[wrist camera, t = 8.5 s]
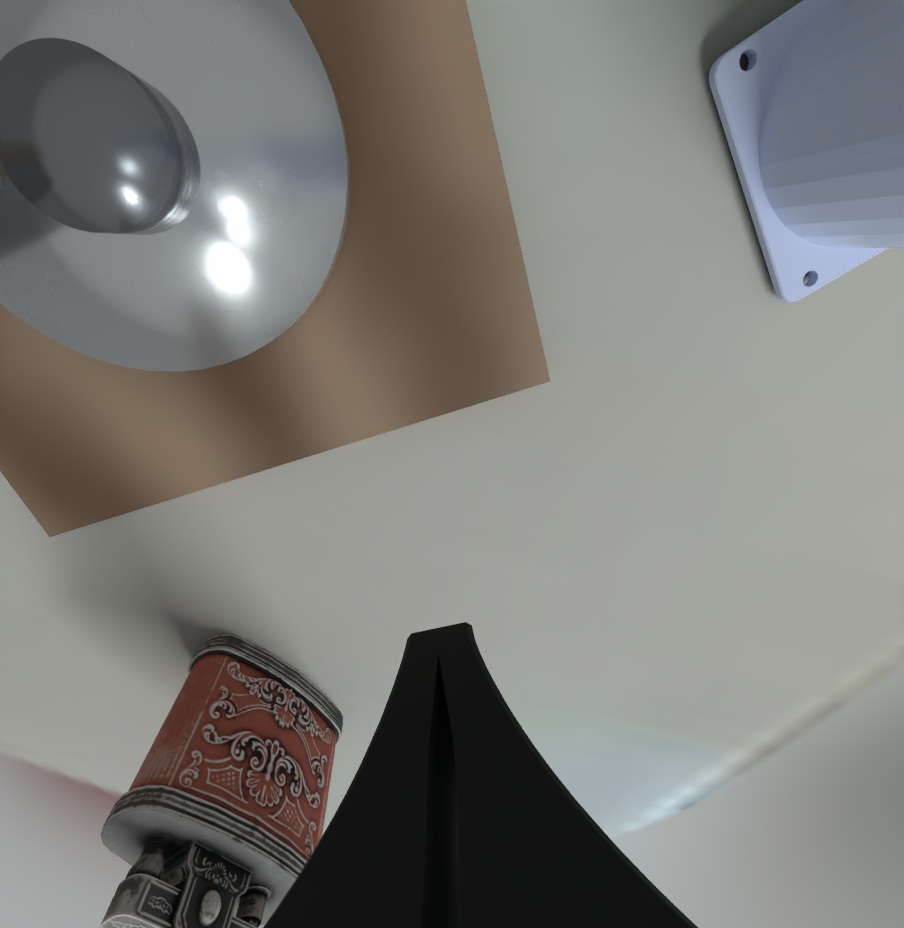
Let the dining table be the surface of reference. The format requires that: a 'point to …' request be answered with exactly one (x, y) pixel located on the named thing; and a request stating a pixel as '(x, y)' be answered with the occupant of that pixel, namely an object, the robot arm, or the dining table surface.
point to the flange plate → (243, 194)
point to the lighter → (225, 795)
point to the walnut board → (331, 315)
